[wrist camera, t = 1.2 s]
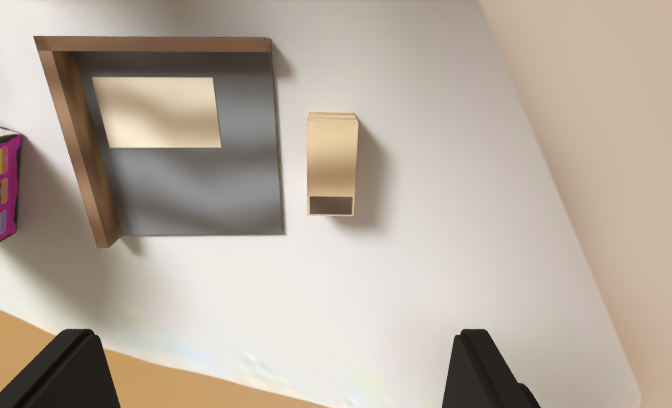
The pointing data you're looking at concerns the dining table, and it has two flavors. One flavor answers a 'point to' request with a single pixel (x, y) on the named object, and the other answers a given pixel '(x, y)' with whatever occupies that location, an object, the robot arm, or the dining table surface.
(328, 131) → the maple block
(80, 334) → the robot arm
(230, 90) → the corner arena
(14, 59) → the dining table surface
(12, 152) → the candy bar box
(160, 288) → the dining table surface
